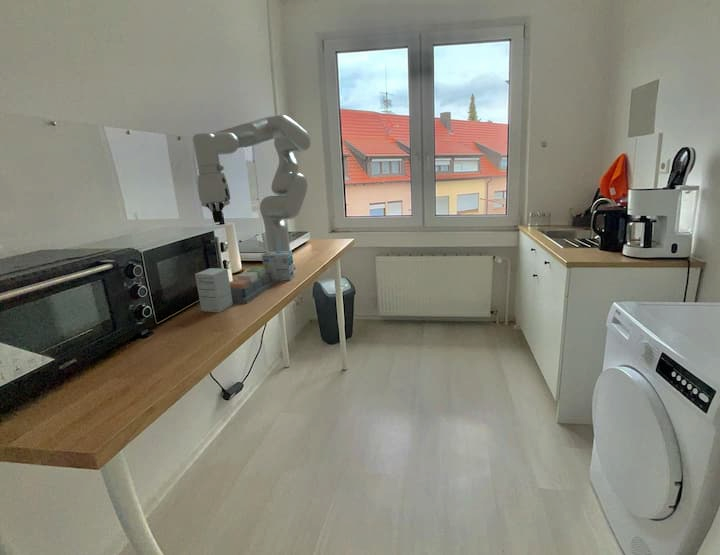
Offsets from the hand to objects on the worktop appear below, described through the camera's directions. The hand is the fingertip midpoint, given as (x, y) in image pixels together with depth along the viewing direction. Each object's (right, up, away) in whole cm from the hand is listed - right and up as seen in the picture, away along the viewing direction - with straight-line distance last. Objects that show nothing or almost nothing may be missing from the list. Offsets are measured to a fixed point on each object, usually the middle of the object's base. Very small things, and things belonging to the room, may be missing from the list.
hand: (218, 221), depth 156 cm
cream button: (+12, -23, -2) cm, 26 cm away
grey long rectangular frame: (+12, -26, -1) cm, 28 cm away
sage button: (+13, -21, +5) cm, 25 cm away
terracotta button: (+10, -26, -8) cm, 29 cm away
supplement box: (+5, -31, -16) cm, 35 cm away
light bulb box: (+20, -21, +15) cm, 33 cm away
